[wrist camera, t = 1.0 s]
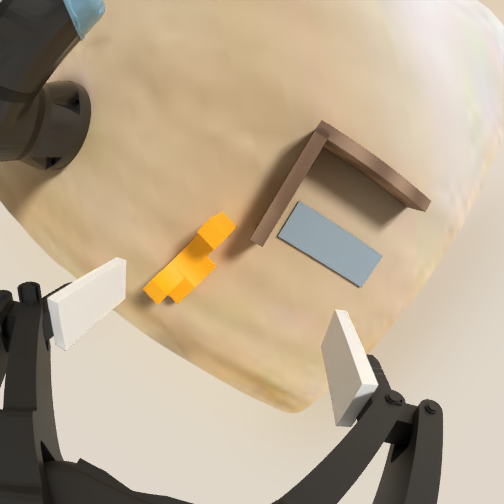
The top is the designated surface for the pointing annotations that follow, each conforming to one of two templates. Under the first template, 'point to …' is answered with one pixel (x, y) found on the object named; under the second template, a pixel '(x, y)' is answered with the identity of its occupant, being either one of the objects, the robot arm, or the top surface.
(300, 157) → the brown wooden corner wall
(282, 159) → the top surface
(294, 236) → the pad
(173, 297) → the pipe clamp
